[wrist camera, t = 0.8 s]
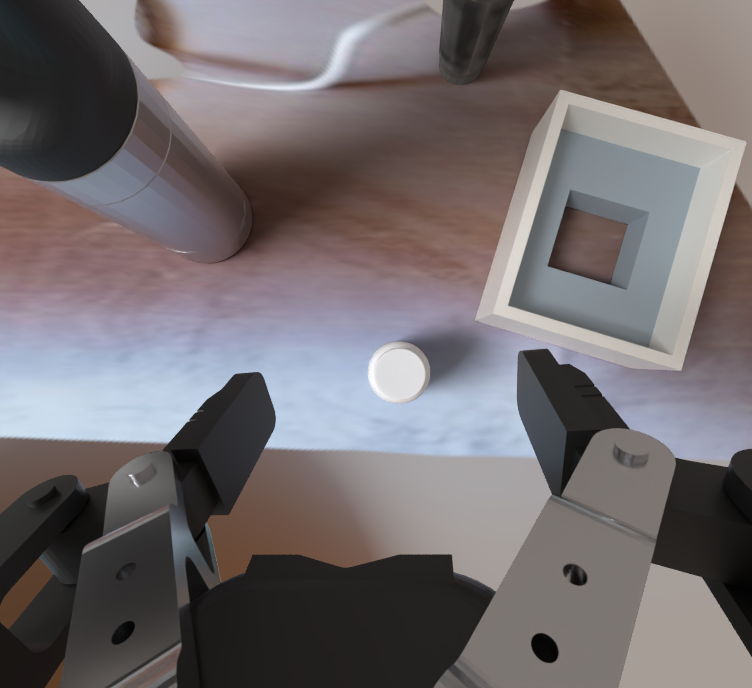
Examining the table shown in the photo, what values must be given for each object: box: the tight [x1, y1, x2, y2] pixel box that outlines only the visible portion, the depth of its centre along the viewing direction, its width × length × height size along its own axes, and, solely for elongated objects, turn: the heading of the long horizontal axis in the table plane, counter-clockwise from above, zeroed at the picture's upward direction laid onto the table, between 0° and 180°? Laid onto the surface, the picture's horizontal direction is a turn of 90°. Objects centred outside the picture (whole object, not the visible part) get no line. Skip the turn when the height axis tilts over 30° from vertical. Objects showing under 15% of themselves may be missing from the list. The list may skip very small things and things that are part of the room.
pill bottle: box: [368, 341, 430, 403], centre depth 32 cm, size 5×5×9 cm
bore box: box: [475, 90, 747, 371], centre depth 33 cm, size 16×20×6 cm
